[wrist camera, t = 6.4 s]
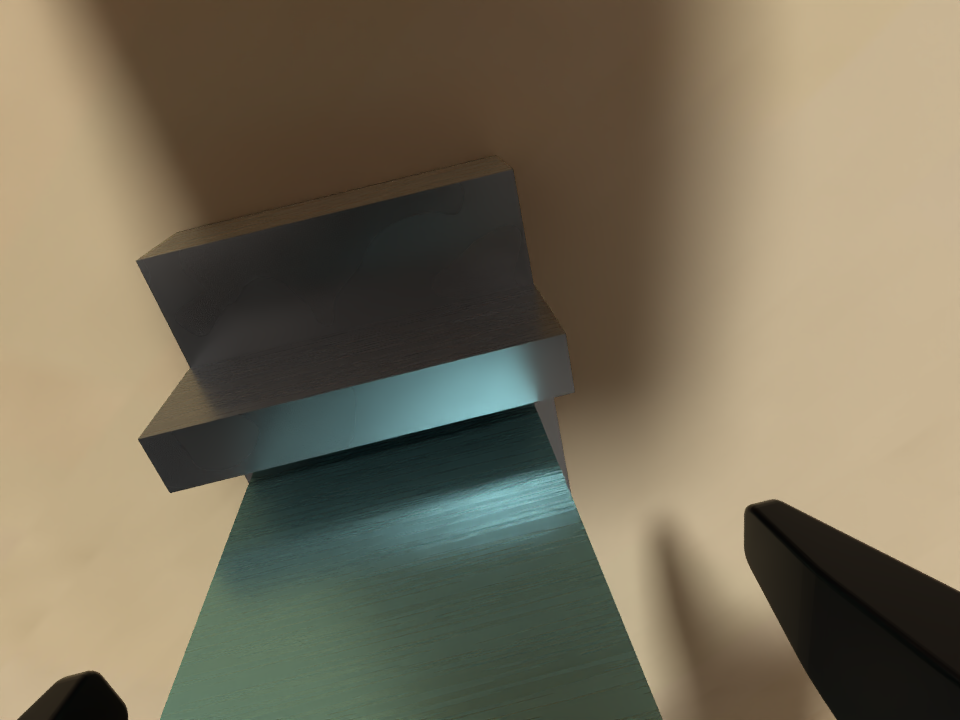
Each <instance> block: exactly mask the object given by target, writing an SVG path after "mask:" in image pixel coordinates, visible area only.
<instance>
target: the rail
mask: <svg viewBox="0 0 960 720" xmlns="http://www.w3.org/2000/svg"><path fill="white" fill-rule="evenodd" d="M136 262H137V264H138V266H139V268H140V270H141V272H142V274H143V276H144V278H145V280H146V282H147V284H148V286H149V288H150V290H151V292H152V293H153V295H154V297H155V299H156V301H157V303H158V305H159V307H160V309H161V311H162V313H163V315H164V317H165V319H166V321H167V323H168V325H169V327H170V329H171V331H172V333H173V335H174V337H175V339H176V341H177V343H178V345H179V347H180V349H181V351H182V353H183V355H184V357H185V358H186V360H187V362H188V364H189V366H190V369H189V370H188V372H187V373H186V374H185V376H184V377H183V378H182V380H181V381H180V382H179V384H178V385H177V387H176V388H175V389H174V391H173V392H172V393H171V395H170V396H169V398H168V399H167V400H166V402H165V403H164V404H163V406H162V407H161V408H160V410H159V411H158V413H157V414H156V415H155V417H154V418H153V419H152V421H151V422H150V424H149V425H148V426H147V428H146V429H145V430H144V432H143V433H142V434H141V436H140V437H139V439H138V440H139V442H140V444H141V445H142V447H143V449H144V450H145V452H146V454H147V455H148V457H149V459H150V460H151V462H152V464H153V465H154V467H155V469H156V470H157V472H158V474H159V475H160V477H161V479H162V481H163V482H164V484H165V486H166V487H167V489H168V491H169V492H170V493H172V492H176V491H180V490H184V489H188V488H192V487H196V486H200V485H204V484H208V483H212V482H217V481H221V480H225V479H229V478H233V477H237V476H241V475H245V477H246V479H247V481H248V483H249V482H250V479H251V477H252V474H253V472H257V471H261V470H265V469H269V468H273V467H277V466H281V465H285V464H289V463H293V462H297V461H301V460H305V459H309V458H313V457H317V456H321V455H325V454H329V453H333V452H337V451H341V450H345V449H349V448H353V447H357V446H361V445H365V444H369V443H373V442H377V441H381V440H385V439H389V438H393V437H397V436H401V435H405V434H409V433H413V432H418V431H422V430H426V429H430V428H434V427H438V426H442V425H446V424H450V423H454V422H458V421H462V420H466V419H470V418H474V417H478V416H482V415H486V414H490V413H494V412H498V411H502V410H506V409H510V408H514V407H518V406H522V405H526V404H530V403H534V405H535V407H536V410H537V412H538V415H539V417H540V420H541V422H542V425H543V427H544V430H545V432H546V434H547V437H548V439H549V442H550V444H551V447H552V449H553V452H554V454H555V457H556V459H557V462H558V464H559V466H560V469H561V471H562V474H563V476H564V479H565V481H566V484H567V486H568V489H569V491H570V486H569V480H568V475H567V469H566V463H565V458H564V452H563V447H562V441H561V435H560V430H559V424H558V418H557V413H556V407H555V402H554V397H558V396H562V395H566V394H570V393H574V392H575V390H574V384H573V377H572V371H571V364H570V358H569V352H568V345H567V339H566V333H565V332H564V330H563V329H562V327H561V326H560V324H559V322H558V321H557V319H556V318H555V316H554V315H553V313H552V312H551V310H550V308H549V307H548V305H547V304H546V302H545V301H544V299H543V298H542V296H541V294H540V293H539V291H538V290H537V288H536V287H535V285H534V284H533V278H532V273H531V267H530V261H529V256H528V250H527V244H526V239H525V233H524V228H523V222H522V216H521V211H520V205H519V200H518V194H517V188H516V183H515V177H514V171H513V169H512V168H511V167H510V166H509V165H507V164H506V163H505V162H504V161H502V160H501V159H500V158H499V157H497V156H492V157H487V158H483V159H479V160H475V161H471V162H467V163H463V164H459V165H454V166H450V167H446V168H442V169H438V170H434V171H430V172H426V173H421V174H417V175H413V176H409V177H405V178H401V179H397V180H392V181H388V182H384V183H380V184H376V185H372V186H368V187H364V188H359V189H355V190H351V191H347V192H343V193H339V194H335V195H330V196H326V197H322V198H318V199H314V200H310V201H306V202H302V203H297V204H293V205H289V206H285V207H281V208H277V209H273V210H269V211H264V212H260V213H256V214H252V215H248V216H244V217H240V218H235V219H231V220H227V221H223V222H219V223H215V224H211V225H207V226H202V227H198V228H194V229H190V230H186V231H182V232H178V233H176V234H174V235H173V236H171V237H170V238H168V239H167V240H165V241H164V242H162V243H161V244H159V245H158V246H157V247H155V248H154V249H152V250H151V251H149V252H148V253H146V254H145V255H143V256H142V257H141V258H139V259H138V260H136ZM570 493H571V491H570Z"/></svg>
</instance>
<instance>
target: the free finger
mask: <svg viewBox="0 0 960 720" xmlns="http://www.w3.org/2000/svg"><path fill="white" fill-rule="evenodd" d="M160 720H662V717H661V715H660V712H659V710H658V707H657V705H656V703H655V700H654V698H653V695H652V693H651V690H650V688H649V685H648V683H647V680H646V678H645V676H644V673H643V671H642V668H641V666H640V663H639V661H638V658H637V656H636V653H635V651H634V648H633V646H632V644H631V641H630V639H629V636H628V634H627V631H626V629H625V626H624V624H623V621H622V619H621V616H620V614H619V612H618V609H617V607H616V604H615V602H614V599H613V597H612V594H611V592H610V589H609V587H608V585H607V582H606V580H605V577H604V575H603V572H602V570H601V567H600V565H599V562H598V560H597V557H596V555H595V553H594V550H593V548H592V545H591V543H590V540H589V538H588V535H587V533H586V530H585V528H584V525H583V523H582V521H581V518H580V516H579V513H578V511H577V508H576V506H575V503H574V501H573V498H572V496H571V493H570V491H569V489H568V486H567V484H566V481H565V479H564V476H563V474H562V471H561V469H560V466H559V464H558V462H557V459H556V457H555V454H554V452H553V449H552V447H551V444H550V442H549V439H548V437H547V434H546V432H545V430H544V427H543V425H542V422H541V420H540V417H539V415H538V412H537V410H536V407H535V405H534V403H530V404H526V405H522V406H518V407H514V408H510V409H506V410H502V411H498V412H494V413H490V414H486V415H482V416H478V417H474V418H470V419H466V420H462V421H458V422H454V423H450V424H446V425H442V426H438V427H434V428H430V429H426V430H422V431H418V432H413V433H409V434H405V435H401V436H397V437H393V438H389V439H385V440H381V441H377V442H373V443H369V444H365V445H361V446H357V447H353V448H349V449H345V450H341V451H337V452H333V453H329V454H325V455H321V456H317V457H313V458H309V459H305V460H301V461H297V462H293V463H289V464H285V465H281V466H277V467H273V468H269V469H265V470H261V471H257V472H253V474H252V477H251V479H250V482H249V485H248V487H247V490H246V493H245V495H244V498H243V501H242V503H241V506H240V509H239V511H238V514H237V516H236V519H235V522H234V524H233V527H232V530H231V532H230V535H229V538H228V540H227V543H226V546H225V548H224V551H223V554H222V556H221V559H220V562H219V564H218V567H217V570H216V572H215V575H214V577H213V580H212V583H211V585H210V588H209V591H208V593H207V596H206V599H205V601H204V604H203V607H202V609H201V612H200V615H199V617H198V620H197V623H196V625H195V628H194V630H193V633H192V636H191V638H190V641H189V644H188V646H187V649H186V652H185V654H184V657H183V660H182V662H181V665H180V668H179V670H178V673H177V676H176V678H175V681H174V683H173V686H172V689H171V691H170V694H169V697H168V699H167V702H166V705H165V707H164V710H163V713H162V715H161V718H160Z"/></svg>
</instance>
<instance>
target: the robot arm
mask: <svg viewBox="0 0 960 720" xmlns="http://www.w3.org/2000/svg"><path fill="white" fill-rule="evenodd" d="M744 551H745V556H746V559H747V562H748V564H749V566H750V568H751V570H752V572H753V574H754V576H755V578H756V580H757V581H758V583H759V585H760V587H761V589H762V591H763V593H764V595H765V597H766V598H767V600H768V602H769V604H770V606H771V608H772V610H773V612H774V613H775V615H776V617H777V619H778V621H779V623H780V625H781V627H782V629H783V630H784V632H785V634H786V636H787V638H788V640H789V642H790V644H791V646H792V647H793V649H794V651H795V653H796V655H797V657H798V659H799V660H800V662H801V664H802V666H803V668H804V669H805V671H806V673H807V675H808V676H809V678H810V679H811V681H812V683H813V684H814V686H815V687H816V689H817V690H818V692H819V694H820V695H821V697H822V698H823V700H824V701H825V703H826V704H827V706H828V707H829V709H830V710H831V712H832V713H833V715H834V716H835V718H836V719H837V720H960V591H958V590H956V589H954V588H952V587H950V586H948V585H946V584H944V583H942V582H940V581H938V580H936V579H934V578H932V577H930V576H928V575H926V574H924V573H922V572H920V571H918V570H916V569H914V568H912V567H910V566H908V565H906V564H904V563H902V562H901V561H899V560H897V559H895V558H893V557H891V556H889V555H887V554H885V553H883V552H881V551H879V550H877V549H875V548H873V547H871V546H869V545H867V544H865V543H863V542H861V541H859V540H857V539H855V538H853V537H851V536H849V535H847V534H845V533H843V532H841V531H839V530H837V529H835V528H833V527H831V526H829V525H827V524H825V523H823V522H822V521H820V520H818V519H816V518H814V517H812V516H810V515H808V514H806V513H804V512H802V511H800V510H798V509H796V508H794V507H792V506H790V505H788V504H786V503H784V502H782V501H779V500H775V499H772V500H767V501H763V502H759V503H755V504H751V505H749V506H747V507H746V509H745V513H744ZM17 720H128V711H127V708H126V705H125V703H124V702H123V701H122V699H121V698H120V697H119V696H118V694H117V693H116V692H115V691H114V690H113V688H112V687H111V686H110V685H109V683H108V682H107V681H106V680H105V679H104V677H103V676H102V675H101V674H100V673H98V672H96V671H86V672H82V673H78V674H74V675H70V676H67V677H64V678H62V679H60V680H59V681H57V682H56V683H55V684H54V685H53V686H52V687H51V688H49V689H48V690H47V691H46V692H45V693H44V694H43V695H42V696H41V697H40V698H39V699H38V700H37V701H36V702H35V703H34V704H33V705H32V706H31V707H30V708H29V709H28V710H27V711H26V712H25V713H24V714H23V715H22V716H20V717H19V718H18V719H17Z"/></svg>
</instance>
